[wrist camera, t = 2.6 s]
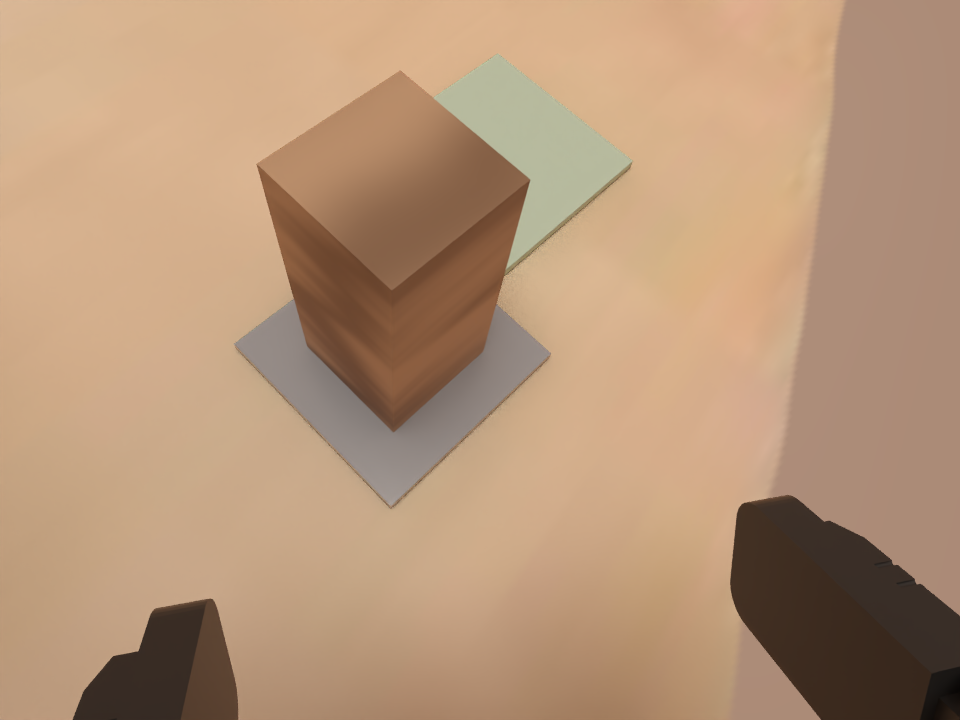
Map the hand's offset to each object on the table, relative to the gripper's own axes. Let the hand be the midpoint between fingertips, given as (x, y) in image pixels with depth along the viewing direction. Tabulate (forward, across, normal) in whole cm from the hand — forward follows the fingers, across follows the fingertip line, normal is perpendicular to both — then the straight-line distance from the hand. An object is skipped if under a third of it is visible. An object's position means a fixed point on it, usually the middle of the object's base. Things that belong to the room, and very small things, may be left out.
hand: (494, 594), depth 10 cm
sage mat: (+25, -6, -4) cm, 26 cm away
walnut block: (+18, 0, +3) cm, 18 cm away
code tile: (+18, 0, +3) cm, 19 cm away
